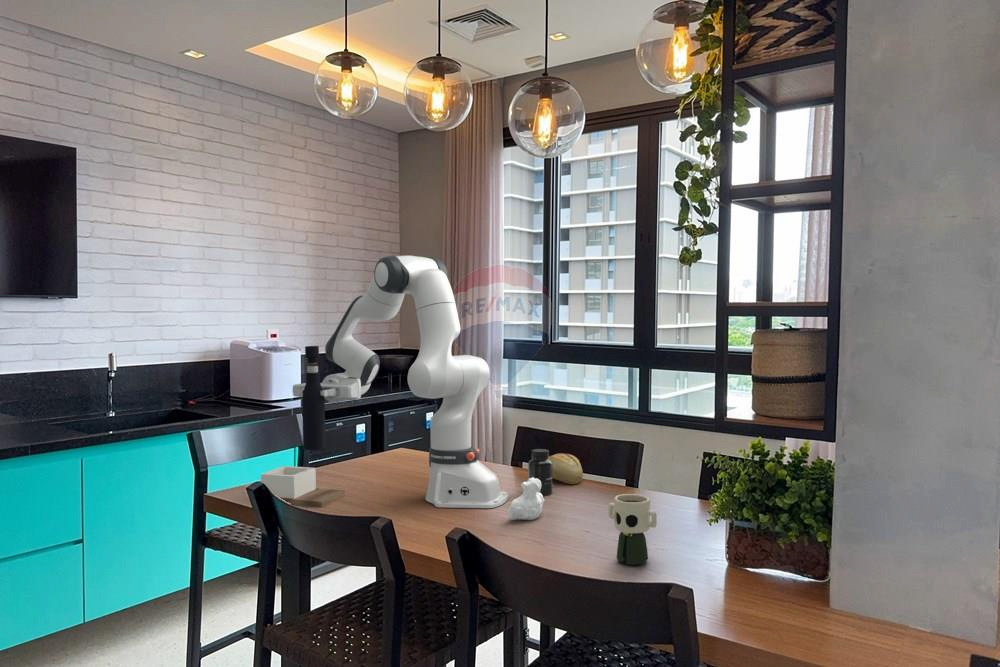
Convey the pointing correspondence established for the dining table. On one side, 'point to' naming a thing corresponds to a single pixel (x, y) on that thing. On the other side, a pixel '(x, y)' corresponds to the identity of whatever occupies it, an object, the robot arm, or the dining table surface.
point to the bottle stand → (299, 486)
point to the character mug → (632, 526)
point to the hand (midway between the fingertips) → (311, 393)
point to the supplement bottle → (541, 470)
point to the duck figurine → (527, 501)
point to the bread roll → (566, 468)
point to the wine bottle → (313, 405)
